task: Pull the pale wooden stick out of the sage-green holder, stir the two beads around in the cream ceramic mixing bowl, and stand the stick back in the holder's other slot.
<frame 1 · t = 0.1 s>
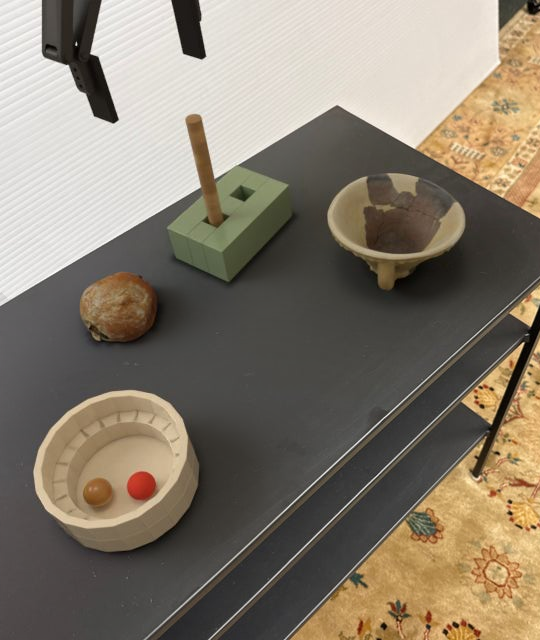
hand: (153, 85, 67), 31 cm above the table, tool pointing down, fingers open, 13 cm apart
bowl: (393, 262, 92), on the table
bead a: (141, 485, 69), point 2 cm above the table, touching mixing bowl
mixing bowl: (130, 483, 72), on the table
holder: (235, 236, 97), on the table
stick: (222, 249, 95), resting in holder
bread roll: (124, 315, 88), on the table
bead b: (98, 492, 69), point 2 cm above the table, touching mixing bowl
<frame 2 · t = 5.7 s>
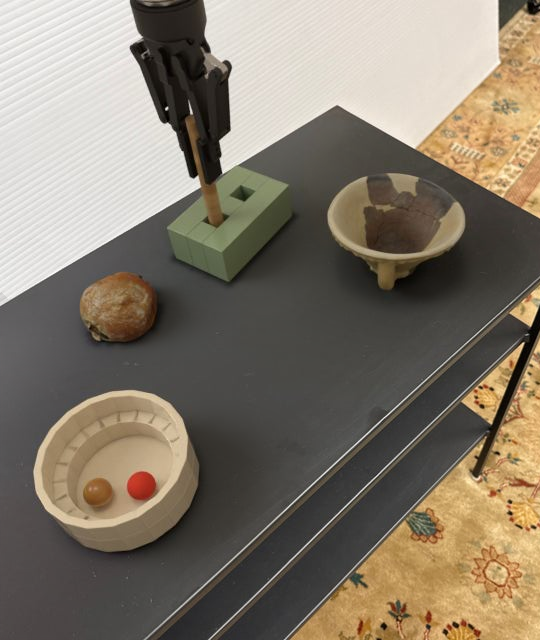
hand: (206, 175, 85), 13 cm above the table, tool pointing down, fingers closed on stick, 2 cm apart
stick: (222, 249, 95), resting in holder, touching gripper
everything else where it was.
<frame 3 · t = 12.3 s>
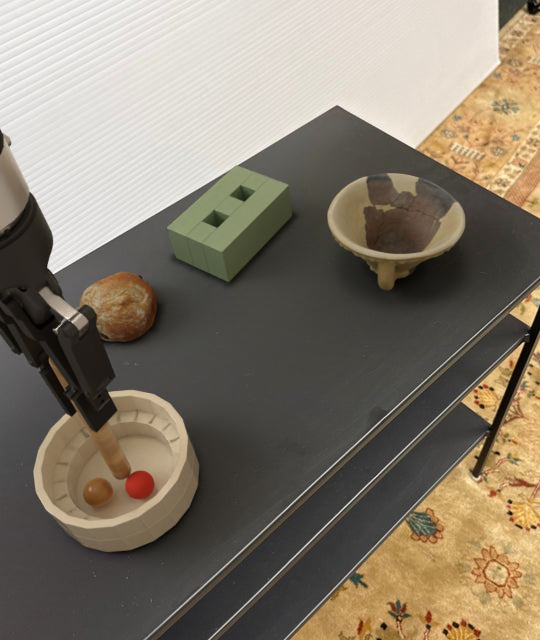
hand: (91, 411, 58), 16 cm above the table, tool pointing down, fingers closed on stick, 2 cm apart
bead a: (139, 484, 69), point 2 cm above the table, tilted 9°, touching mixing bowl, stick
stick: (122, 471, 69), point 3 cm above the table, touching bead a, gripper
everything else where it was.
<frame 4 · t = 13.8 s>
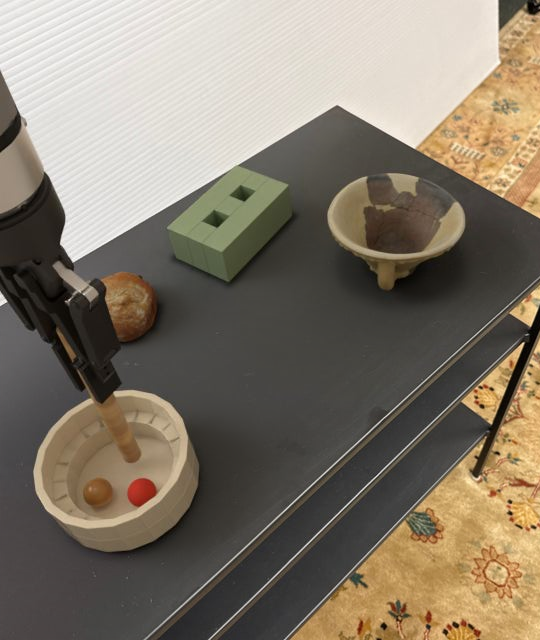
hand: (99, 385, 61), 16 cm above the table, tool pointing down, fingers closed on stick, 2 cm apart
bead a: (141, 492, 68), point 2 cm above the table, tilted 30°, touching mixing bowl
stick: (132, 455, 71), point 3 cm above the table, touching gripper
everything else where it was.
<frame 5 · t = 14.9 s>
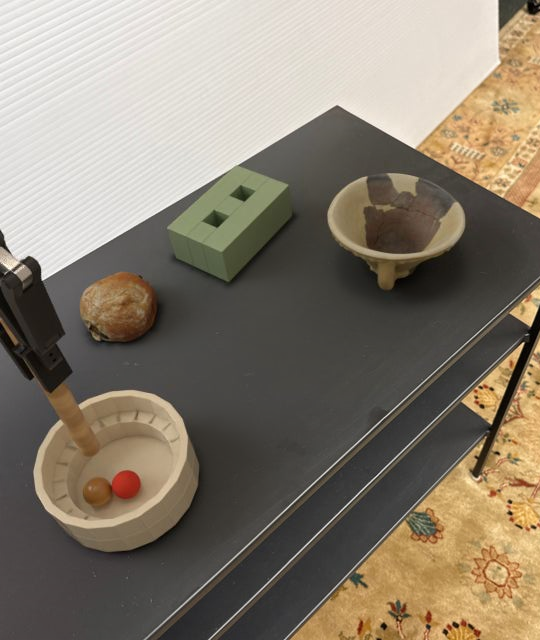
hand: (48, 374, 58), 19 cm above the table, tool pointing down, fingers closed on stick, 2 cm apart
bead a: (126, 484, 69), point 2 cm above the table, tilted 59°, touching mixing bowl
stick: (90, 448, 68), point 6 cm above the table, touching gripper
everything else where it was.
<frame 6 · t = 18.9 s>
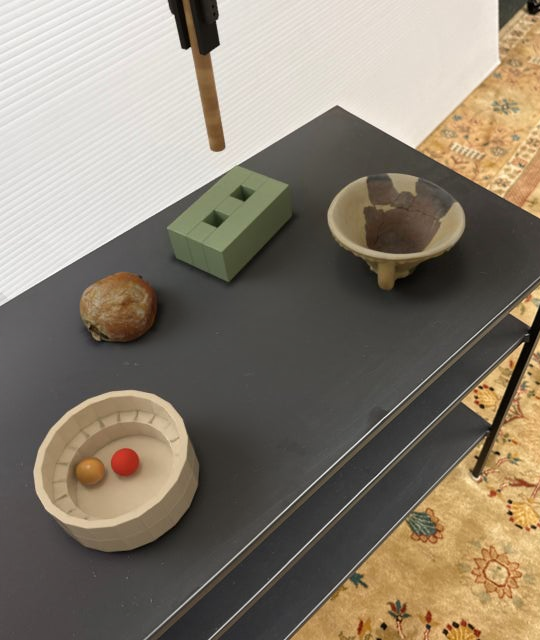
hand: (200, 46, 72), 30 cm above the table, tool pointing down, fingers closed on stick, 2 cm apart
bead a: (125, 462, 71), point 2 cm above the table, tilted 111°, touching mixing bowl
stick: (217, 147, 82), point 17 cm above the table, touching gripper
bead b: (90, 470, 70), point 2 cm above the table, tilted 111°, touching mixing bowl
everything else where it was.
when the fingers open (15 cm above the table, at t = 22.6 s): stick drops 6 cm, resting in holder.
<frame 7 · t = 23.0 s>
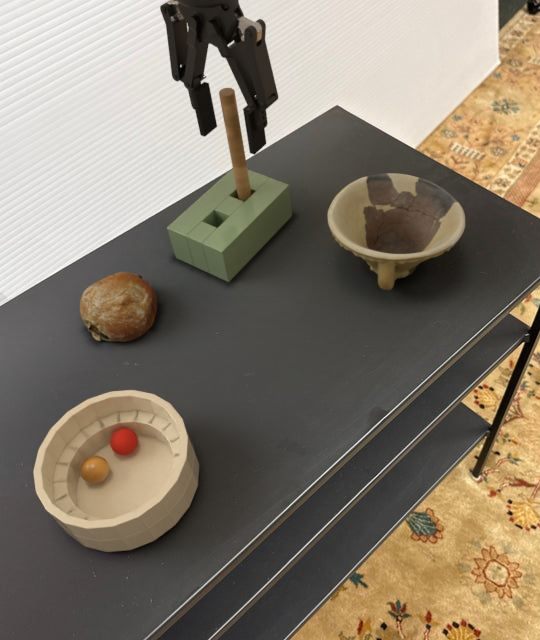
hand: (233, 139, 87), 15 cm above the table, tool pointing down, fingers open, 8 cm apart
bead a: (124, 441, 72), point 2 cm above the table, tilted 113°, touching mixing bowl
stick: (249, 222, 98), resting in holder
bead b: (94, 469, 70), point 2 cm above the table, tilted 105°, touching mixing bowl
everything else where it was.
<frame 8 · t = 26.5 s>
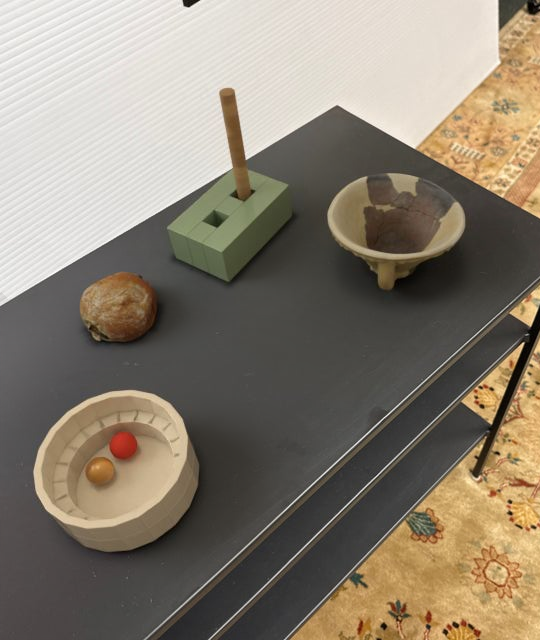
bead a: (123, 445, 72), point 2 cm above the table, tilted 123°, touching mixing bowl
bead b: (99, 470, 70), point 2 cm above the table, tilted 86°, touching mixing bowl
everything else where it was.
at the end: stick 0.4 cm from the target spot in the holder, point 0.0 cm above the holder's base; bead a moved 5.6 cm from its start; bead a inside the target area in the mixing bowl (3.5 cm from its centre), point 2.3 cm above the mixing bowl's base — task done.
